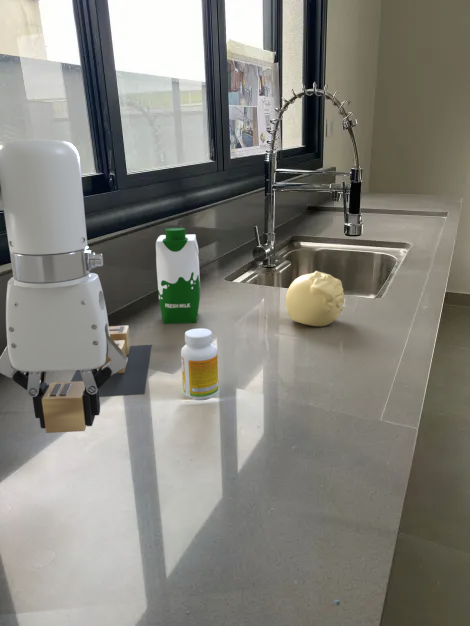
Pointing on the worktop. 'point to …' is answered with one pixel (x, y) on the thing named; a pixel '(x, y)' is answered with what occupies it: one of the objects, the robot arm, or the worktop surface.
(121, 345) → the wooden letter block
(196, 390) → the supplement bottle
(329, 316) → the pale yellow lumpy ball
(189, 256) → the milk carton
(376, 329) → the worktop surface
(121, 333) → the small cardboard box
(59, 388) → the striped cardboard box
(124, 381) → the word mat
